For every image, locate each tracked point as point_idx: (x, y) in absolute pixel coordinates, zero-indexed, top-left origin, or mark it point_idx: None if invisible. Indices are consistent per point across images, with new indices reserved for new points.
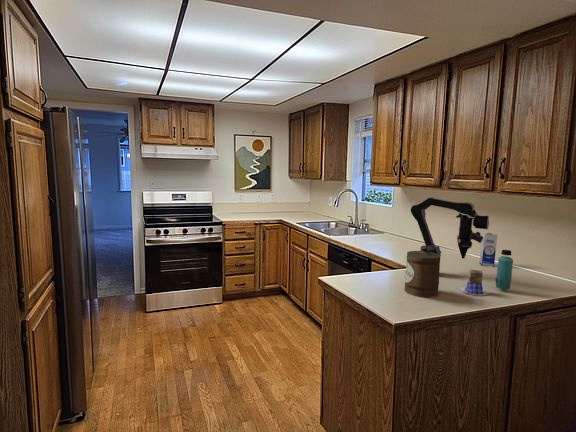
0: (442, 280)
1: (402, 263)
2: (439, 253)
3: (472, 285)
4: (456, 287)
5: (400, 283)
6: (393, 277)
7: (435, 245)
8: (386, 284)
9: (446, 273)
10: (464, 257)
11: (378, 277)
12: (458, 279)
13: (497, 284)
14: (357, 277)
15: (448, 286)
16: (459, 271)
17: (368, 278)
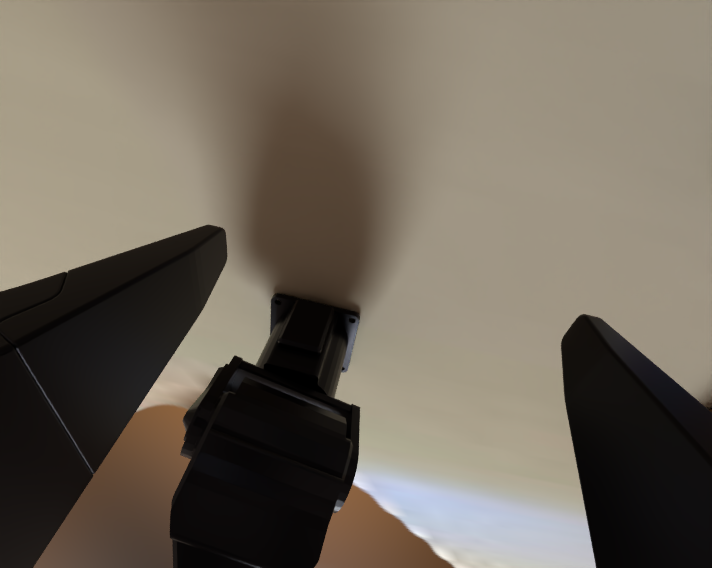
0: (474, 291)
1: (150, 395)
2: (293, 465)
3: None
4: (688, 242)
5: (566, 483)
6: (458, 480)
7: (181, 551)
8: (584, 521)
9: (242, 210)
10: (611, 333)
11: (470, 516)
12: (411, 153)
13: None
14: (484, 555)
15: (648, 294)
16: (87, 59)
17: (493, 538)
